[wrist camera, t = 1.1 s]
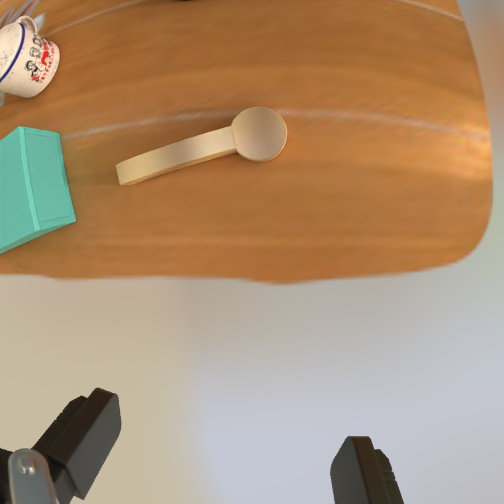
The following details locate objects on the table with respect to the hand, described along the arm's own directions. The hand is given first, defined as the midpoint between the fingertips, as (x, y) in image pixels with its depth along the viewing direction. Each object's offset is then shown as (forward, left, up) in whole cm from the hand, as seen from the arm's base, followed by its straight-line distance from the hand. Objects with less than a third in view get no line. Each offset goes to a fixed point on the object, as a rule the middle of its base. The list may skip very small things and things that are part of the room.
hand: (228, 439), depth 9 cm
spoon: (-13, -2, -23) cm, 27 cm away
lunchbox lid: (-16, -29, -16) cm, 37 cm away
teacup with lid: (-35, -22, -23) cm, 48 cm away
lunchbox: (-16, -28, -23) cm, 40 cm away
